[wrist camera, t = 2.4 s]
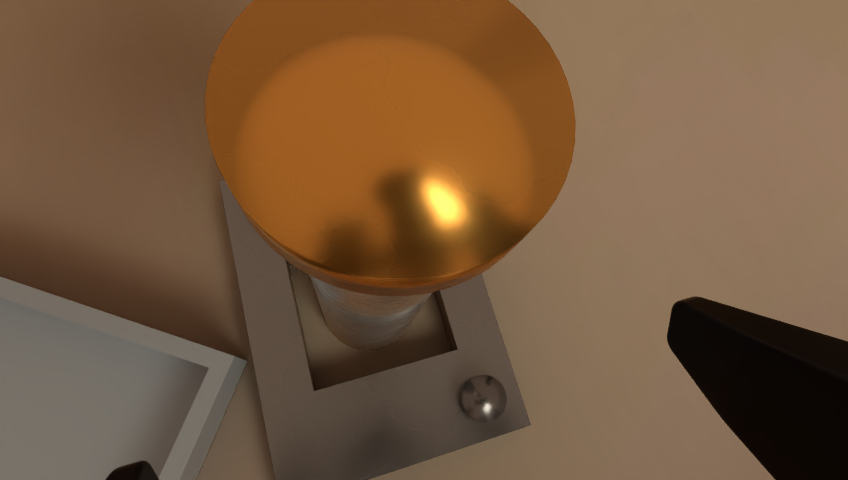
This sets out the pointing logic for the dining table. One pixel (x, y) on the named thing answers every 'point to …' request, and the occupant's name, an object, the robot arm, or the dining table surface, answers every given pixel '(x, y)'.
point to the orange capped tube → (388, 144)
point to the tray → (102, 392)
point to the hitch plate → (369, 380)
